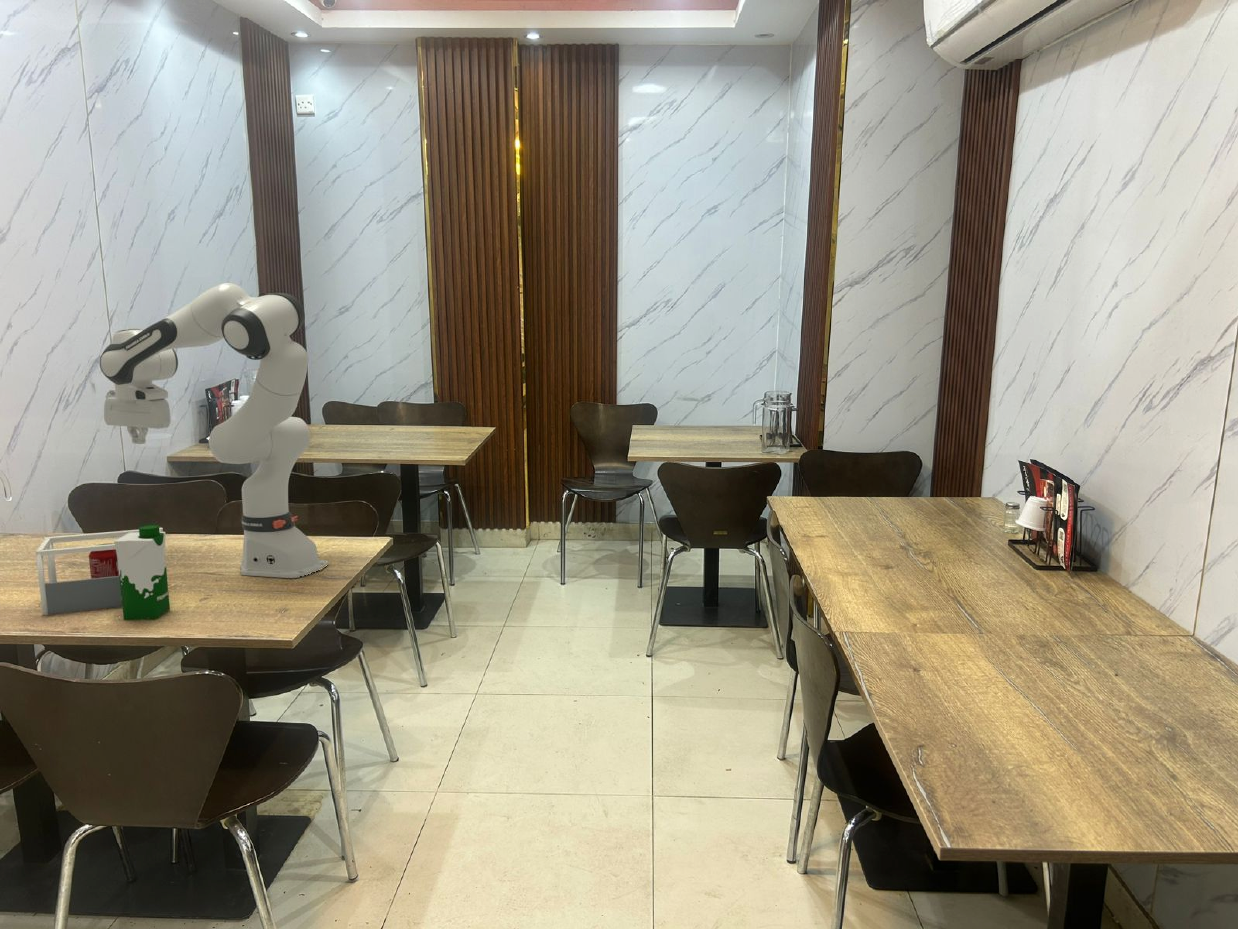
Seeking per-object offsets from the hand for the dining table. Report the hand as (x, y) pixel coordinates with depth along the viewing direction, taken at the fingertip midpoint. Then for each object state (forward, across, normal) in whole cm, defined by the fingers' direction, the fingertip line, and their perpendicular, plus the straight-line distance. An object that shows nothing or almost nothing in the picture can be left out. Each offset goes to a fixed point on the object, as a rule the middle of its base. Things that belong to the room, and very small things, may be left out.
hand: (139, 443), depth 246 cm
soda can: (+31, +19, -28) cm, 46 cm away
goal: (+31, +21, -30) cm, 48 cm away
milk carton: (+31, +38, -34) cm, 60 cm away
